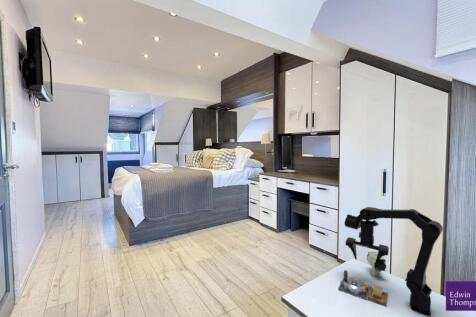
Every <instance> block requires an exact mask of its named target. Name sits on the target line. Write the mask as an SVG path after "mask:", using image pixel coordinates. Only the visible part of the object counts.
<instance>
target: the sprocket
mask: <svg viewBox="0 0 476 317" xmlns="http://www.w3.org/2000/svg"><path fill="white" fill-rule="evenodd" d="M348 273H349V272H348V270H343V277H342V280H343V281H342V280H340V281H339V285H340V284H341V285H343V286H344V289H345V290H346V291H347V290H349V291H352V292H354V294H357V293H363V294H367V291H366V290H368V286H366V285H367V284H366V285H364V284H365V283H364V282H365V281H363V280H359V279H356V278H355V277H353V276H351V277H348V276H349V275H348ZM368 291H369V290H368ZM367 295H368V294H367Z"/></svg>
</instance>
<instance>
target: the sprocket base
mask: <svg viewBox="0 0 476 317" xmlns="http://www.w3.org/2000/svg"><path fill="white" fill-rule="evenodd" d="M341 281H343V279H342V280H341ZM364 285H366V286H368V290H366V291H367V294H363V293H357V294H354V292H352V291H349V290H347V291H346V290H345V289H344V286H343V285H341V284H340V283H339V286H338V288H337V289H338V291H340V292H343V293H345V294H349V295H351V296H354V297H357V298H359V299H363V300H365V301H366V300H367V296H368V292H369V288H370V285H368V284H365V283H364Z"/></svg>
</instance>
